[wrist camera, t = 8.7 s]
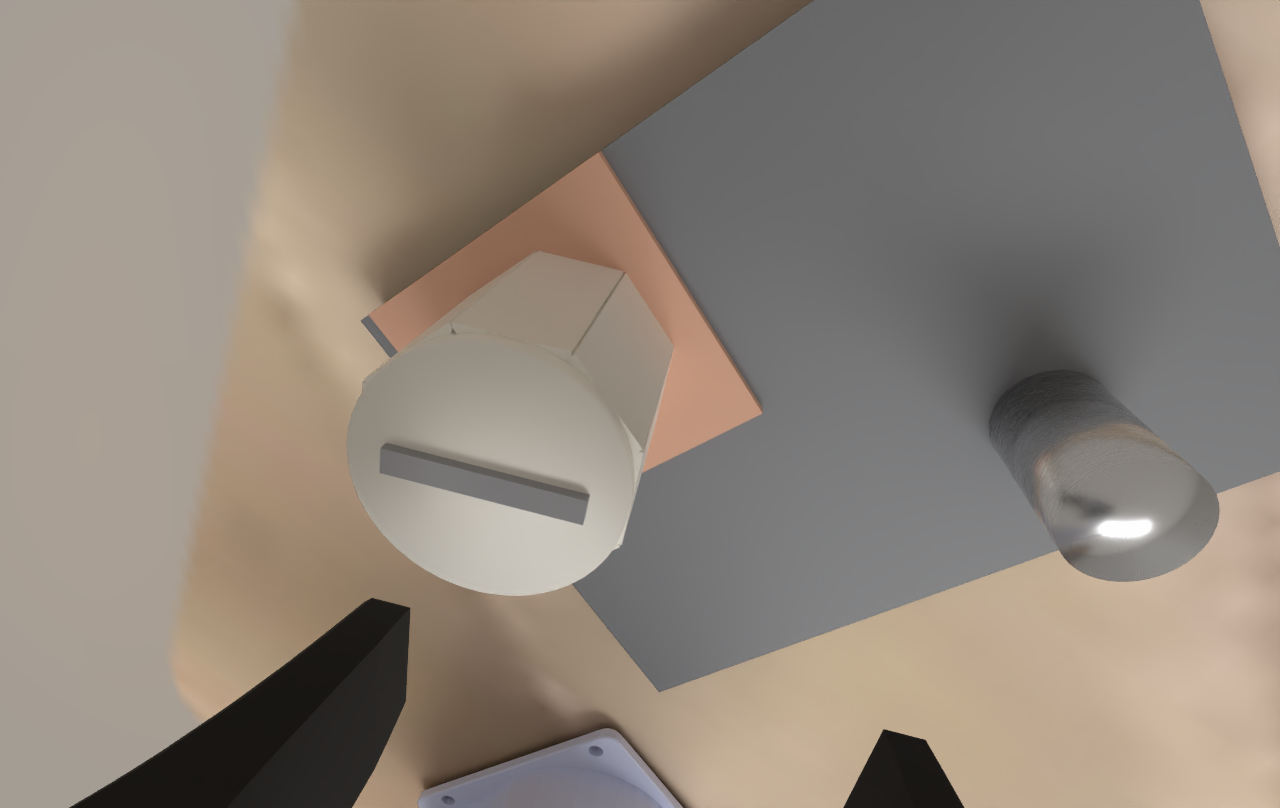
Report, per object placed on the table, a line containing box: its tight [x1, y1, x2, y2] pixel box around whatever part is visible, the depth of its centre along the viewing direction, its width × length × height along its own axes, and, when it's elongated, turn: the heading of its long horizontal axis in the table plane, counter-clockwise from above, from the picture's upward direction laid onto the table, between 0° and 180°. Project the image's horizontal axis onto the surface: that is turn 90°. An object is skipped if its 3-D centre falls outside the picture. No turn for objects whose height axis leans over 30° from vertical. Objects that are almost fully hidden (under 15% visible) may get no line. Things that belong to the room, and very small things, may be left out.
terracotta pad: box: [369, 151, 763, 473], centre depth 17 cm, size 7×7×1 cm
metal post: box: [989, 370, 1219, 582], centre depth 14 cm, size 3×3×4 cm
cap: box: [347, 251, 674, 596], centre depth 14 cm, size 5×5×6 cm
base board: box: [361, 0, 1280, 692], centre depth 17 cm, size 18×14×1 cm
